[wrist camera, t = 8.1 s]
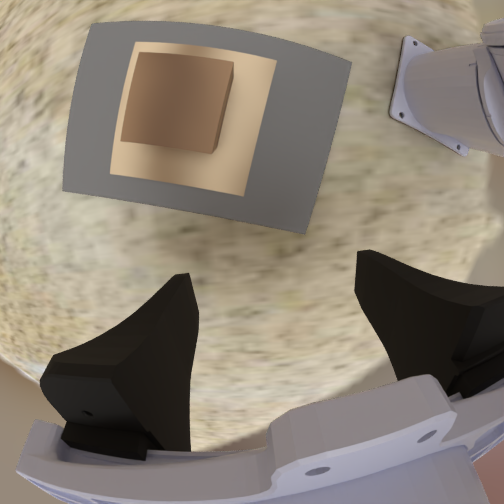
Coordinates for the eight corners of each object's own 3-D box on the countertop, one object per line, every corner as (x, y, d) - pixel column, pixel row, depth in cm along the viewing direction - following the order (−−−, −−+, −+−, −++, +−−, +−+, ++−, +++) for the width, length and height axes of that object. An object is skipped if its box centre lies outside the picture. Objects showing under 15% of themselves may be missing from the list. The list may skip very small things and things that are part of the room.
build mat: (350, 63, 17) (352, 62, 16) (303, 232, 22) (305, 234, 22) (93, 25, 14) (91, 23, 13) (64, 189, 19) (62, 191, 19)
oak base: (271, 68, 16) (277, 60, 14) (242, 187, 20) (243, 196, 18) (146, 50, 15) (135, 41, 13) (123, 167, 19) (109, 173, 16)
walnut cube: (233, 77, 15) (233, 61, 10) (217, 147, 16) (211, 154, 12) (161, 68, 14) (139, 51, 10) (146, 136, 16) (120, 141, 12)
